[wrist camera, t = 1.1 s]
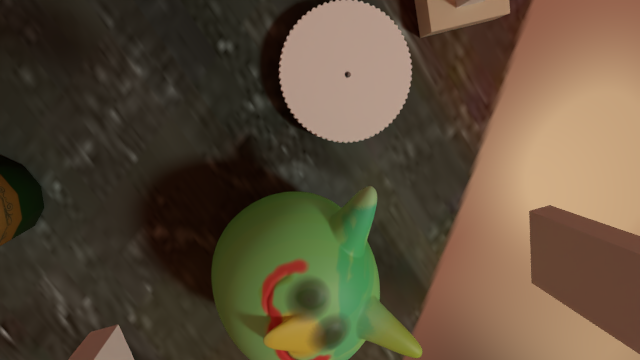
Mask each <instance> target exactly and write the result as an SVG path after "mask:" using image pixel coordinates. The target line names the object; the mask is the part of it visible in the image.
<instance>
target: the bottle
mask: <svg viewBox="0 0 640 360" xmlns="http://www.w3.org/2000/svg"><path fill="white" fill-rule="evenodd" d="M43 209H44V203H43V197H42V191H41V186H40V185H39V183H38V182H37V181H36V180H35V179H34V178H33V176H32V175H31V174H30V173H29V172H28V170H27V169H26V168H25V167H23V166H21V165H19V164H17V163H15V162H13V161H11V160H8V159H6V158H4V157H2V156H0V246H1V245H3V244H4V243H6V242H8V241H9V240H11V239H13V238H15V237H16V236H18V235H20V234H21V233H23V232H25V231H26V230H28V229H30V228H32V227H33V226H35V224H36V222H37V220H38V219H39V217H40V215H41V213H42V211H43Z"/></svg>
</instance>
